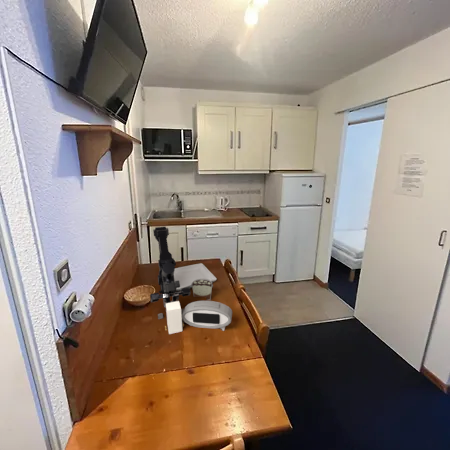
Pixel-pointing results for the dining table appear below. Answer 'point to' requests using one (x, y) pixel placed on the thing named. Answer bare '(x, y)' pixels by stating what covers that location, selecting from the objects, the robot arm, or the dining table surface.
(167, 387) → the dining table surface
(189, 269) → the square plate
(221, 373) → the dining table surface
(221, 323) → the alarm clock
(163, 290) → the robot arm
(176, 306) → the block
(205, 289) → the food container
